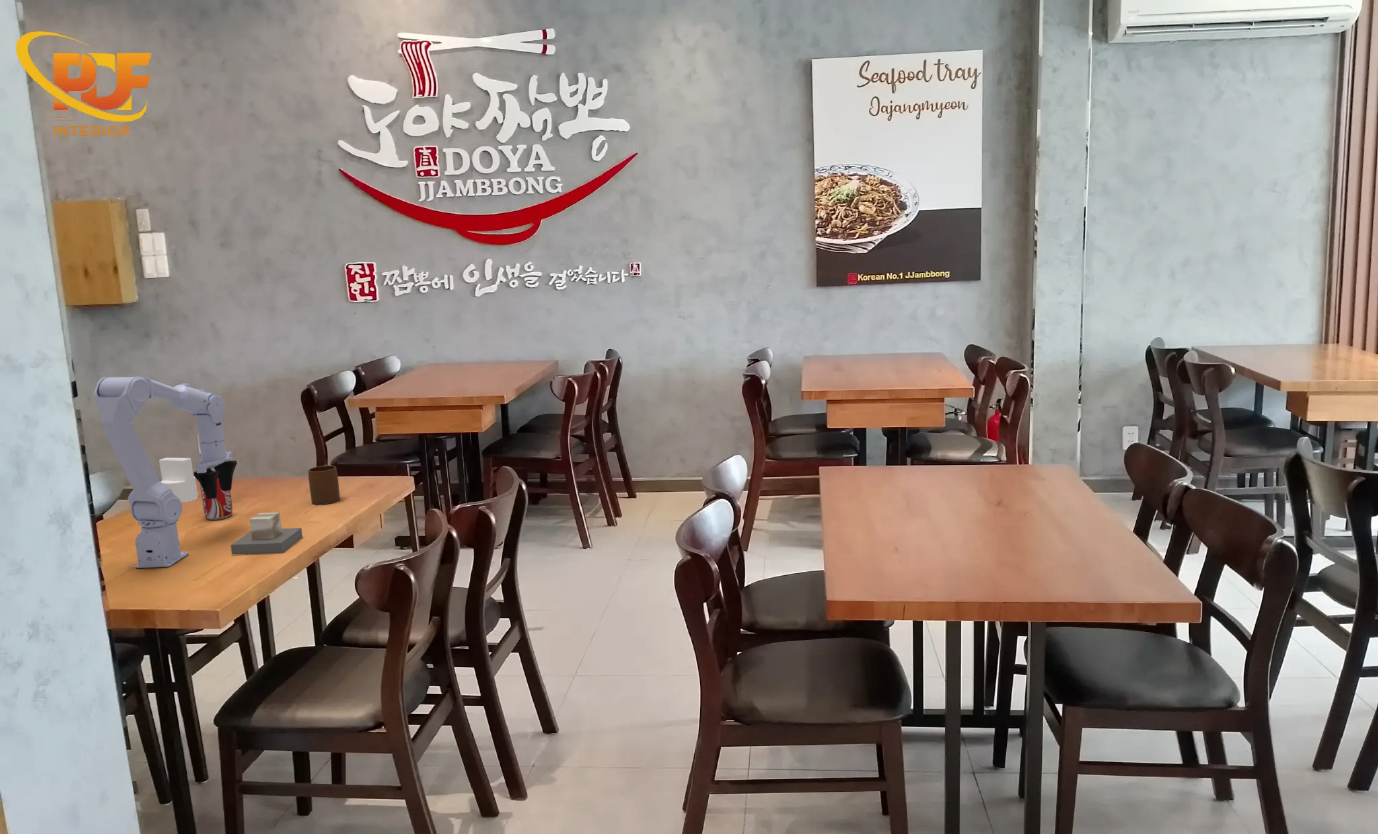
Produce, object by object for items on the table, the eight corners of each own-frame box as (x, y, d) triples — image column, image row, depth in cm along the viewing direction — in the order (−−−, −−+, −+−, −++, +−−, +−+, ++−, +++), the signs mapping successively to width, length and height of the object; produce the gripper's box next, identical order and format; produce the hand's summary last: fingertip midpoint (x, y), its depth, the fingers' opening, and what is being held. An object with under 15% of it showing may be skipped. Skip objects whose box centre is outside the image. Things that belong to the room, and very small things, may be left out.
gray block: (272, 538, 243) (270, 518, 243) (252, 539, 244) (249, 519, 243) (282, 532, 248) (279, 512, 247) (262, 533, 249) (259, 513, 248)
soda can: (222, 521, 270) (216, 476, 268) (198, 521, 272) (192, 476, 270) (239, 513, 277) (233, 470, 275) (215, 513, 279) (209, 470, 276)
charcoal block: (282, 555, 240) (281, 542, 240) (232, 557, 241) (230, 544, 240) (302, 539, 252) (301, 527, 252) (254, 541, 253) (253, 529, 252)
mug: (316, 495, 293) (312, 463, 291) (344, 492, 294) (340, 460, 292) (309, 506, 281) (305, 472, 279) (338, 503, 283) (334, 470, 281)
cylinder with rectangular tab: (156, 503, 293) (150, 462, 291) (180, 495, 301) (174, 455, 299) (181, 504, 290) (175, 463, 288) (205, 496, 299) (199, 455, 296)
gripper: (213, 446, 246) (221, 501, 248) (241, 434, 260) (248, 486, 263) (184, 447, 246) (192, 502, 249) (213, 435, 260) (221, 487, 263)
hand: (219, 494), depth 256 cm, fingers open, 7 cm apart
